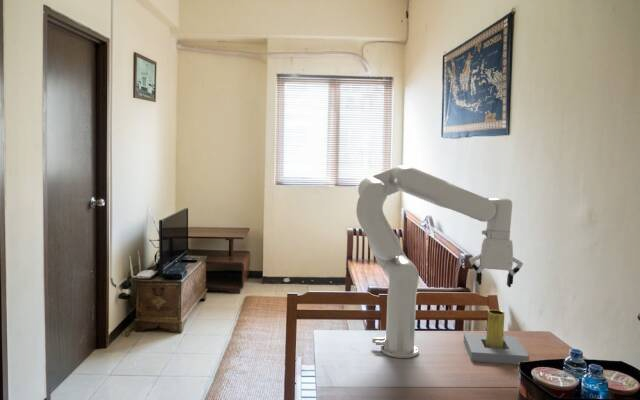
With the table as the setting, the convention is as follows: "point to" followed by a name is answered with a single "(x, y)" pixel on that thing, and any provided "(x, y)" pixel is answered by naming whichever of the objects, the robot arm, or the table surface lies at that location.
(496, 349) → the socket plate
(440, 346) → the table surface
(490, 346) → the vase
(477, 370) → the table surface
